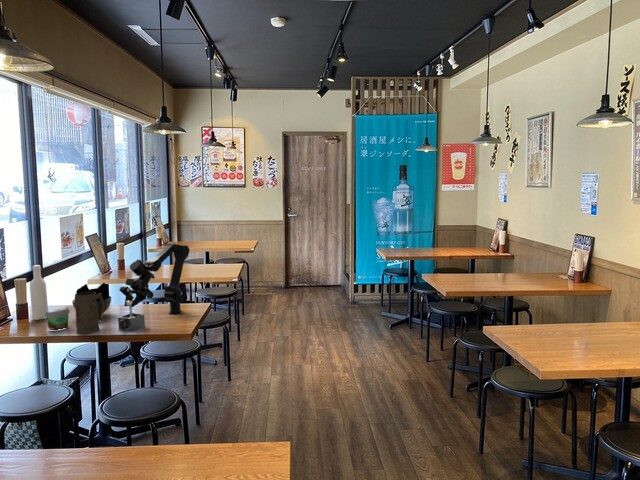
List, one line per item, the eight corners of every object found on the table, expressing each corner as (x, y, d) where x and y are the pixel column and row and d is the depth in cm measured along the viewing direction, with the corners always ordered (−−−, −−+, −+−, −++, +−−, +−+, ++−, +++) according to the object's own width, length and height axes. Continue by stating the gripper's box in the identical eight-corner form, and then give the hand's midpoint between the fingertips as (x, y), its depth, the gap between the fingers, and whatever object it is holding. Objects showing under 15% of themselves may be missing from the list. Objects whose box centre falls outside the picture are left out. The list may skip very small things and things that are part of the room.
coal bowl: (65, 320, 283) (63, 287, 281) (87, 311, 303) (85, 279, 301) (99, 321, 280) (97, 287, 278) (119, 312, 300) (117, 280, 297)
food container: (53, 333, 260) (51, 313, 259) (46, 331, 264) (44, 312, 263) (76, 327, 271) (74, 308, 270) (69, 325, 274) (67, 307, 273)
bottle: (40, 321, 284) (35, 267, 280) (29, 320, 286) (24, 266, 283) (52, 317, 291) (47, 264, 288) (41, 316, 294) (36, 264, 290)
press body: (132, 325, 272) (131, 312, 272) (145, 326, 269) (144, 314, 268) (114, 331, 262) (114, 318, 261) (128, 332, 258) (127, 320, 258)
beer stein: (87, 335, 255) (86, 295, 254) (70, 333, 259) (69, 293, 258) (109, 328, 270) (109, 290, 269) (93, 327, 273) (92, 289, 272)
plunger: (131, 317, 270) (130, 298, 269) (141, 318, 268) (139, 299, 266) (121, 320, 264) (120, 301, 263) (131, 322, 262) (130, 302, 260)
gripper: (120, 271, 271) (105, 296, 262) (148, 273, 263) (133, 299, 254) (133, 283, 279) (118, 308, 270) (159, 285, 271) (145, 311, 262)
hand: (128, 306), depth 264 cm, fingers open, 4 cm apart
